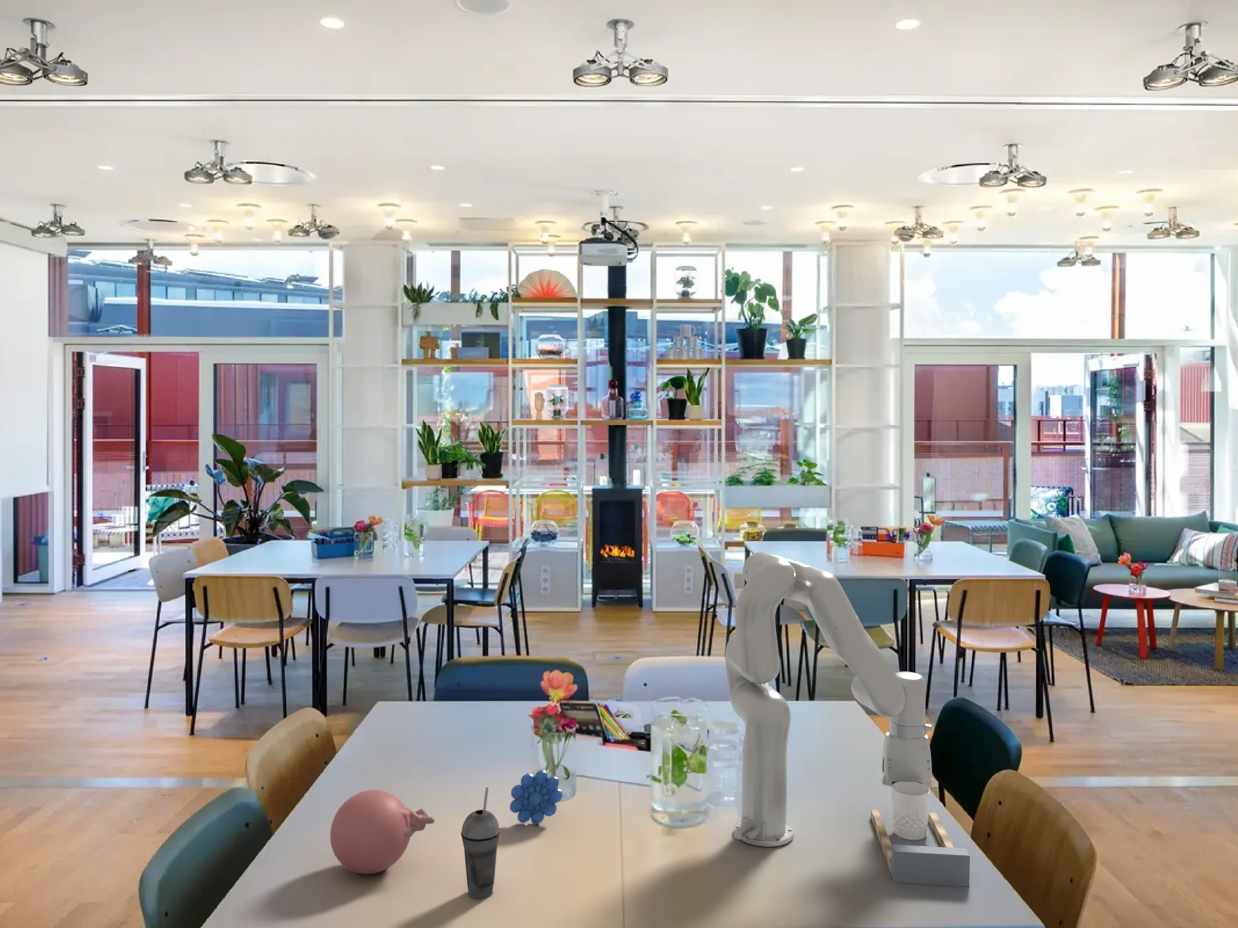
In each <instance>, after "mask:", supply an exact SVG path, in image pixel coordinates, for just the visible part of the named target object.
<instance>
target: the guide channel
mask: <svg viewBox="0 0 1238 928" xmlns="http://www.w3.org/2000/svg"><path fill="white" fill-rule="evenodd" d="M870 819H871V821H872V826H873V827H874V830H875V833H876V835H877V838H878V841H879V845H880V846H881V850H882V852H883V856H884V858H885V860H886V864H887V867H888V866H889V867H888V869H889V872H890V873H891V866H892V843H891V839H890V838H889V835H888V833H887V829H886V827H885V825H884V821H883V819H882V817H881V814H880V812H879V809H875V808H871V809H870ZM928 824H929V825H930V827H931V829H932V831H933V833H934V835H935V838H936V839H937V841H938V843H939V845H940V847H945V848H955V845H953V843H952V841H951V839H950V836H949V835H948V833H947V832H946V829H945V828H944V826H943V823H942V822H941V821H940V818H939V817H938V815H937V813H936V812H933V811H929V816H928Z"/></svg>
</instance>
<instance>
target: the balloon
mask: <svg viewBox="0 0 1238 928" xmlns="http://www.w3.org/2000/svg"><path fill="white" fill-rule="evenodd" d="M434 823H435V818H434V817H433V816H430V815H428V814H427V811H426V809H424V808H420V809H418V810H416V811H414V810H412V809H410V808H409V807H406V806H405V804H404V802H403V801H401V799H399V798H398V797H397V796H396V795H394V794H393V793H391V792H389V791H386V790H382V789H369V790H364V791H361V792H358V793H356V794H353V795H352V796H350V797H349V798H348V799H347V800H346V801H344V802H343V804H342V805H341V806H340V807H339V808H338V809H337V811H336V813H335V815H334V817H333V819H332V822H331V827H330V832H329V836H330V837H329V840H330V846H331V850H332V852H333V853H334V856H335V857H336V859H337V861H338V862H339V863H340V864H342V866H344V868H346V869H348V870H350V871H352V872H354V873H357V874H363V875H371V874H377V873H381V872H383V871H385V870H387V869H389V868H390V867H392V866H393V865H394V864H396V863H397V862H398V861H399V860H400V859H401V857H403V855H404V853H405V852H406V850H407V847H408V845H409V842H410V839H411V837H413V835H414V834H415V832H421V831H422V832H423V831H424V830H425V829H426V826H427V825H429V824H434Z"/></svg>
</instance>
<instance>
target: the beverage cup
mask: <svg viewBox="0 0 1238 928" xmlns="http://www.w3.org/2000/svg"><path fill="white" fill-rule="evenodd" d="M488 794H489V787H485V791H484V797H483V798H484V800H483V807H482V809H477V810H474V811H472V812H471V813H469V814H468V815H467V816H466V818H465V820H464V821H463V824H462V827H461V831H460V836H461V840H462V845H463V851H464V860H465V861H464V862H465V873H466V874H465V875H466V886H467V890H468V891H467V892H468V893H467V894H468V897H469V898H471V899H473V900H485V899H488V898H489V897H492V895H493V892H494V891H493V890H494V885H495V875H496V874H495V873H496V866H497V865H496V864H497V853H498V852H497V851H498V844H499V841H500V834H501V831H500V830H501V829H500V824H499V822H498V819H497V817H496V816H495V815H494V814H493V813H492V812H491V811H489V810H487V803H488V802H487V801H488V796H489V795H488Z"/></svg>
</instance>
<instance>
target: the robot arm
mask: <svg viewBox="0 0 1238 928" xmlns="http://www.w3.org/2000/svg"><path fill="white" fill-rule="evenodd" d="M742 575H743V578H744V580H745V582H746V583H745V584H744V587H743V588H741V589H742V590H741V591H740V593H739V595H738V596H737V599H736V603H735V608H734V620H735V621H734V624H735V634H733V636H731V637H730V639H729V640H728V642H727V644H726V647H725V651H724V653H725V654H724V661H725V662H724V663H725V670H726V678H727V686H728V693H729V700H730V704H731V706H732V709H733V711H734V712H735V714H736V715H737V716H738V717H739V718H740V719H741V721H742V722H744V724H745V725H744V726H745V730H744V734H743V739H742V740H743V741H742V748H741V750H742V751H741V764H742V765H741V820H739V821H737V822H736V823H735V825H734V826H733V830H734V831H733V832H732V833H733V837H734V838H735V839H737V840H740V841H741V842H743V843H746V844H749V845H752V846H757V847H767V848H771V847H772V848H773V847H780V846H783V845H786V844H789V843H790V842H791V841H792V840H793V839H794V835H795V834H794V829H793V828H792V826H791V825H789V824H788V823H787V802H788V801H787V800H788V799H787V798H788V797H787V796H788V792H787V787H788V745H789V743H788V742H789V736H790V735H789V734H790V728H791V721H792V713H791V709H790V706H789V704H788V702H787V700H786V699H785V698H784V696H783V695H782V694H781V693H779V692H778V691H777V690H775V689H774V688H773V687H771V685H770V683H772V682H773V681H774V680H775V679H776V678H777V677H778V674H779V673H780V669H781V660H780V653H779V646H778V645H779V644H778V637H777V629H776V613H777V609H778V607H779V605H780V604H781V602H782V601H783V599H789V600H792V601H796V602H800V603H802V604H804V605H805V606H806V607H807V608H808V610H809V612H810V614H811V616H812V618H813V620H814V622H815V623H816V625H817V627H818V629H819V630H820V633H821V634H822V636H823V639H824V640H825V642H826V644H827V645H828V647H829V648H830V650H832V651H833V653H834V654H835V655H836V657H837V658H839V659H840V660H841V661H843V663H844V664H845V665H846V666H847V667H848V668H849V669H850V670H851V671H852V673H853V675H855V677H854V678H853V680H852V682H851V686H850V688H851V692H852V695H853V697H854V699H856V700H857V701H858V702H859V703H860V704H862V705H863V706H865V707H867V708H868V709H870V710H872V712H874V713H875V714H878V715H879V716H881V717H883V718H884V717H885V718H889V731H886V732H885V735H884V739H883V746H882V747H883V748H882V756H881V758H882V759H881V771H882V778H881V783H882V784H883V785H884V786H887V787H891V788H892V785H893V784H894V783H896V782H917V783H921V784H923V785H925V786H927V787H928V788H930V787H932V786H933V782H932V775H933V773H932V771H933V770H932V769H933V768H932V754H931V748H930V747H931V746H930V741H929V736H928V735H927V733H928V732H932V731H933V727H932V725H933V724H932V725H931V724H928V723H926V680H925V678H924V677H923V675H921V674H920V673H917V672H911V671H897V672H895V671H894V668H893V667H892V666H891V664H890V662H889V661H888V659H887V658H886V657H885V655H884V654H883V651H881V650H880V649H879V647H878V645H877V644H876V642H874V640H873V638H872V637H871V636H870V635H869V633H868V632H867V631H866V629H865V628H864V626H863V624H862V622H861V620H860V618H859V616H858V615H857V613H856V611H855V609H854V607H853V606H852V603H851V602H850V599H849V597H848V595H847V594H846V592H845V590H844V588H843V587H842V585H841V583H840V581H839V580H838V579H837V578H836V576H835V575H833V574H832V573H830V572H828V571H827V570H826V571H825V570H822V569H820V568H817V567H815V566H811V565H808V564H807V565H806V564H803V563H800V562H798V561H794V560H791V559H787V558H784V557H781V556H778V555H775V554H772V553H769V552H767V551H766V552H765V551H759V552H755V553H753V554H751V555H750V556H748V557H747V558H746V560H745V561H744V563H743V567H742Z"/></svg>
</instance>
